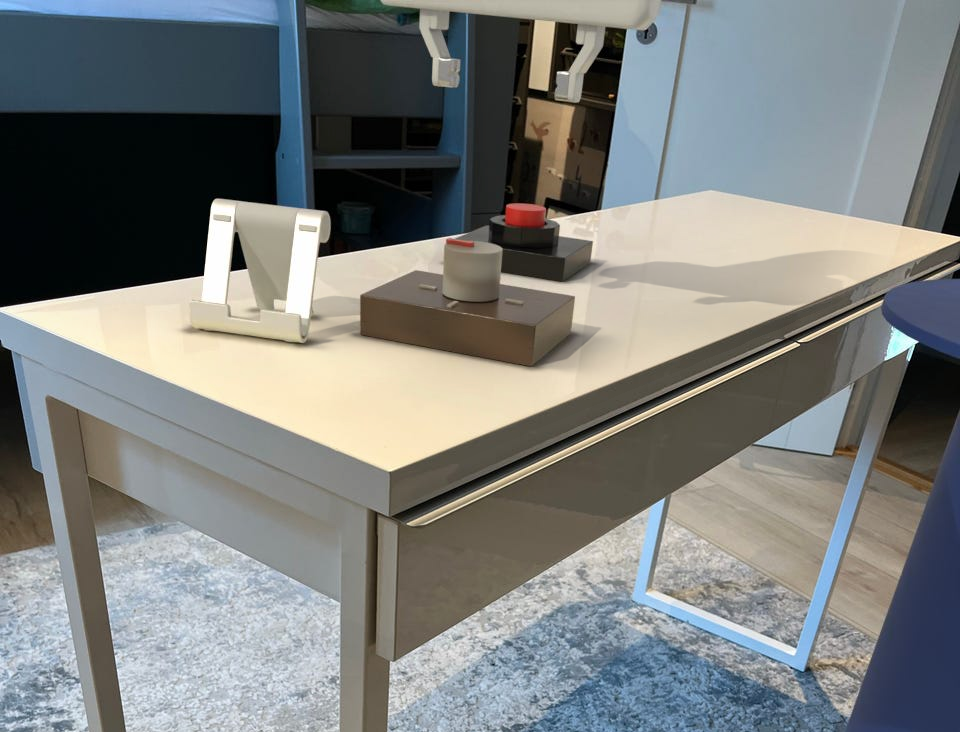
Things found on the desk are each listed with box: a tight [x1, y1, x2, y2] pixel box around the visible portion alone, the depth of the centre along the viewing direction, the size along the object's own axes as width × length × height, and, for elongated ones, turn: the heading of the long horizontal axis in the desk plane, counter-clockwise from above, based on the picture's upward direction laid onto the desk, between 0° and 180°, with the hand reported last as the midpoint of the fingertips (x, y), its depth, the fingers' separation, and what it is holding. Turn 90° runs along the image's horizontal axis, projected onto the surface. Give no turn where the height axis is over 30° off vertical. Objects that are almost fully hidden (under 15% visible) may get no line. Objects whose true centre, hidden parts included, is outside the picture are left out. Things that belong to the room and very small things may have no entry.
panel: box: [359, 269, 576, 367], centre depth 75 cm, size 14×10×3 cm
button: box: [504, 202, 547, 226], centre depth 96 cm, size 4×4×2 cm
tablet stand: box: [188, 198, 332, 344], centre depth 71 cm, size 9×8×8 cm
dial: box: [442, 237, 503, 302], centre depth 73 cm, size 4×4×4 cm
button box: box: [454, 214, 594, 282], centre depth 97 cm, size 12×10×4 cm
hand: (505, 94), depth 69 cm, fingers open, 8 cm apart
